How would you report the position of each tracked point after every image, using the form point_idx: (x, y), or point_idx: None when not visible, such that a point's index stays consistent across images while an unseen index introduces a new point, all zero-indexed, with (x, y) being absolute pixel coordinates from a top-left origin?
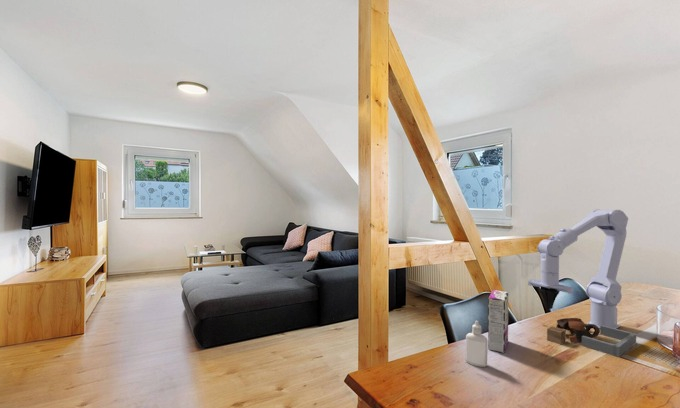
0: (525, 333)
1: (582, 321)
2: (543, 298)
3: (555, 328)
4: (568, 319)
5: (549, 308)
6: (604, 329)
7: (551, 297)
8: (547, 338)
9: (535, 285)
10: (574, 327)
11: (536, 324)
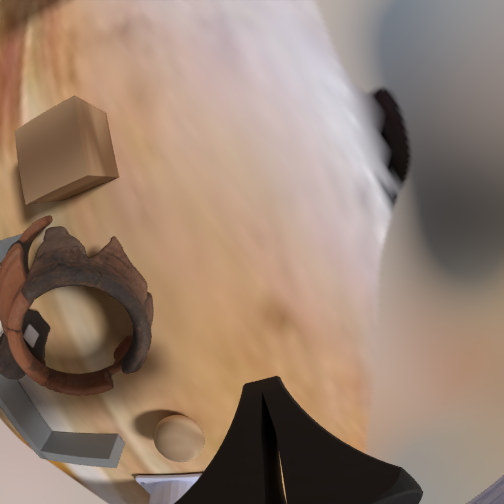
0: (221, 74)
1: (161, 453)
2: (321, 427)
3: (56, 156)
4: (21, 289)
5: (247, 385)
6: (99, 450)
7: (209, 476)
8: (99, 110)
9: (494, 492)
10: (4, 259)
11: (309, 283)
